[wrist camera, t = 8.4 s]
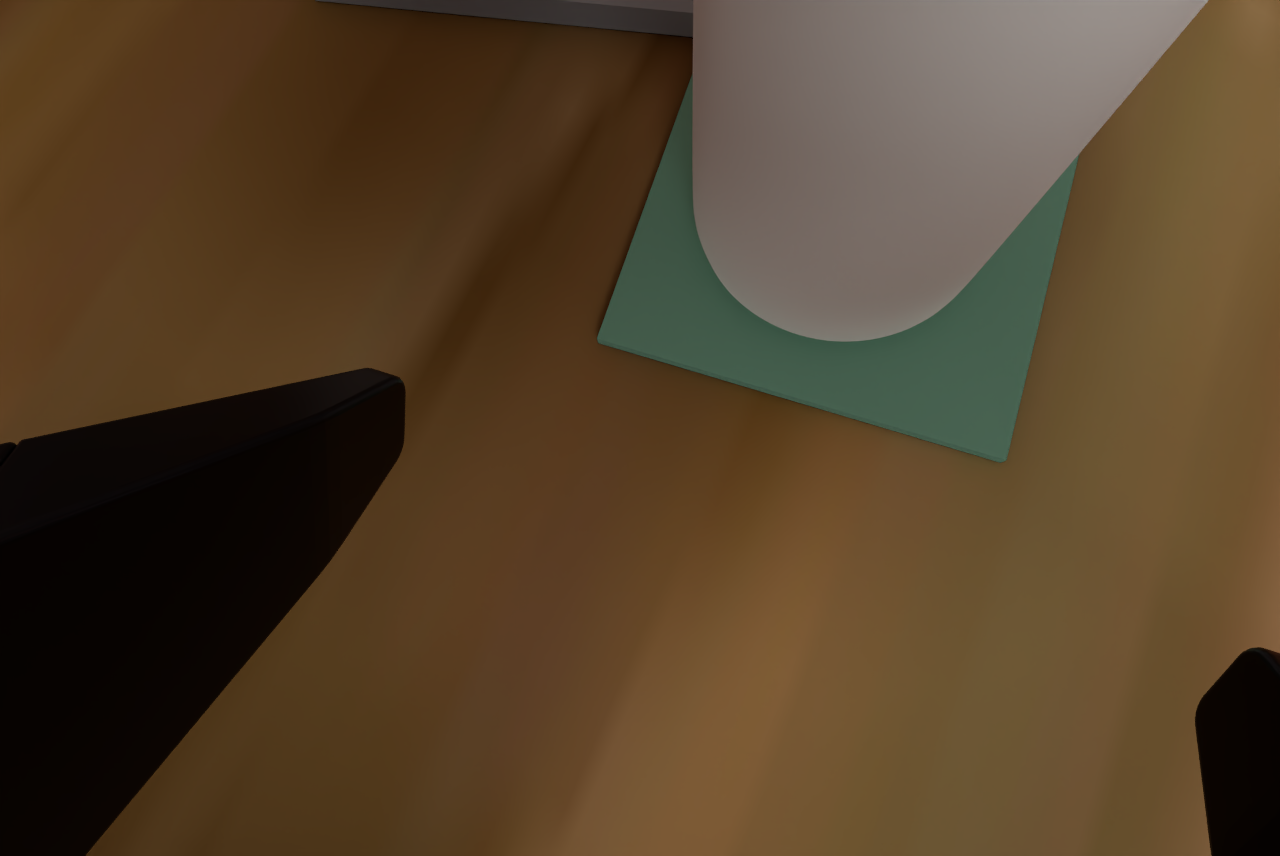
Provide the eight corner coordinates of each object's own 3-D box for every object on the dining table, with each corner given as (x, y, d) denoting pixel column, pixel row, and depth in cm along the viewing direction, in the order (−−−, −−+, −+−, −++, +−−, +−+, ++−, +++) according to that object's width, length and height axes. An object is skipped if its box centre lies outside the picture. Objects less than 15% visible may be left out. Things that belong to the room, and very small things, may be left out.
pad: (1000, 462, 16) (1006, 459, 16) (598, 343, 18) (596, 338, 17) (1087, 100, 18) (1094, 92, 18) (716, 14, 19) (716, 5, 19)
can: (666, 121, 18) (625, -724, 7) (936, 62, 18) (1364, -897, 7) (728, 378, 17) (811, -141, 5) (1022, 315, 17) (1774, -356, 5)
